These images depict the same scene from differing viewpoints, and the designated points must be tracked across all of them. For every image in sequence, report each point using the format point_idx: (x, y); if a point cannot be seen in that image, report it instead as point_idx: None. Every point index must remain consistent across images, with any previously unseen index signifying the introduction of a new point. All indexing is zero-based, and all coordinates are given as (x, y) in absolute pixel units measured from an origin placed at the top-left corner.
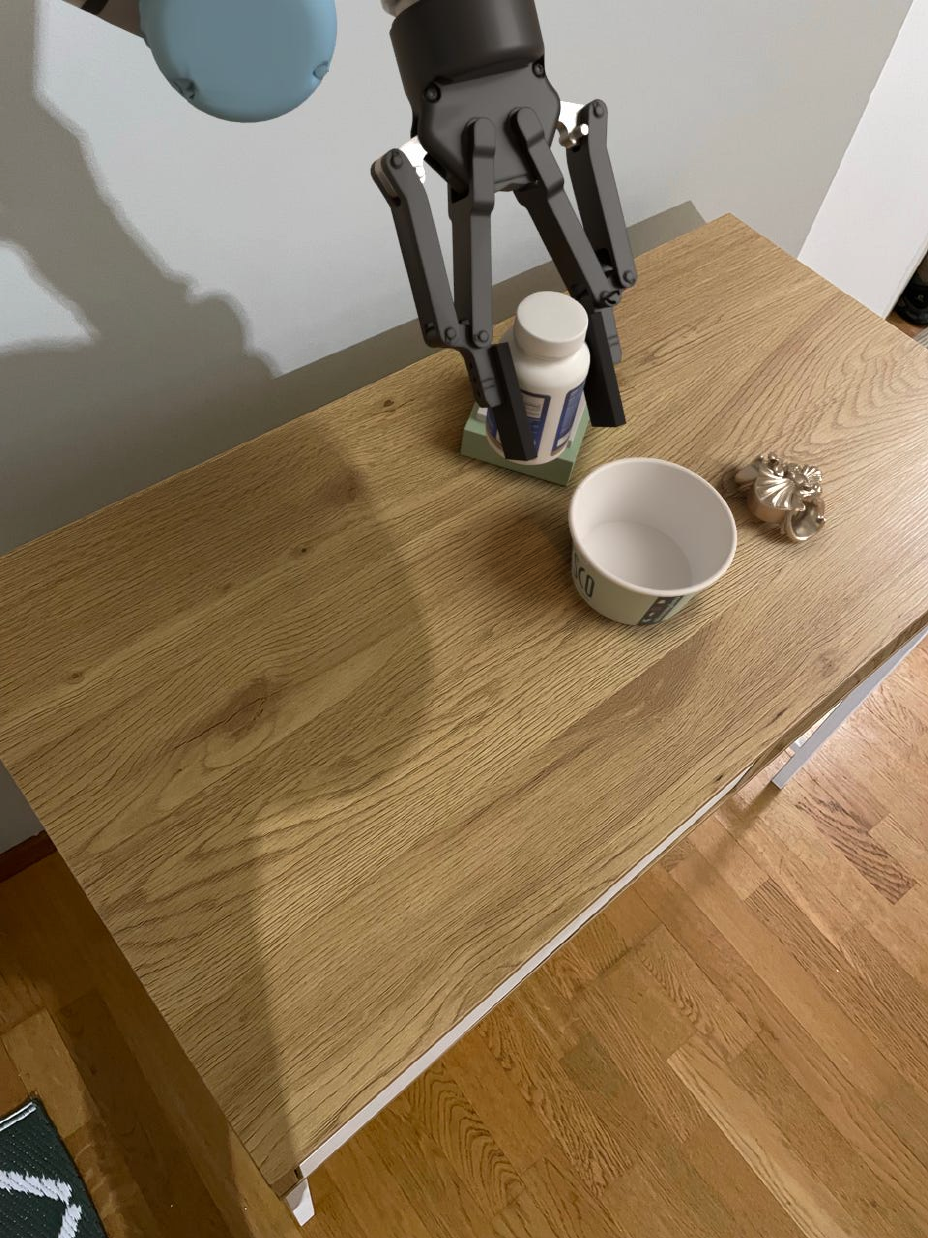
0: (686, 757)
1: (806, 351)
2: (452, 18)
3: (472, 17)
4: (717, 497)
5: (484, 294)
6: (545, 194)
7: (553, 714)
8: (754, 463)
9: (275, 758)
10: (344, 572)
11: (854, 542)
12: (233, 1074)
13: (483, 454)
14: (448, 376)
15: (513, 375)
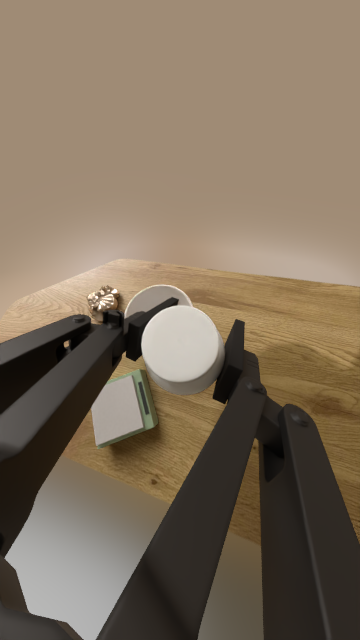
0: (212, 278)
1: None
2: None
3: None
4: (130, 303)
5: (236, 417)
6: (7, 464)
7: (231, 315)
8: (94, 317)
9: (328, 380)
10: None
11: (107, 280)
12: None
13: (154, 411)
14: (118, 465)
15: (234, 348)
